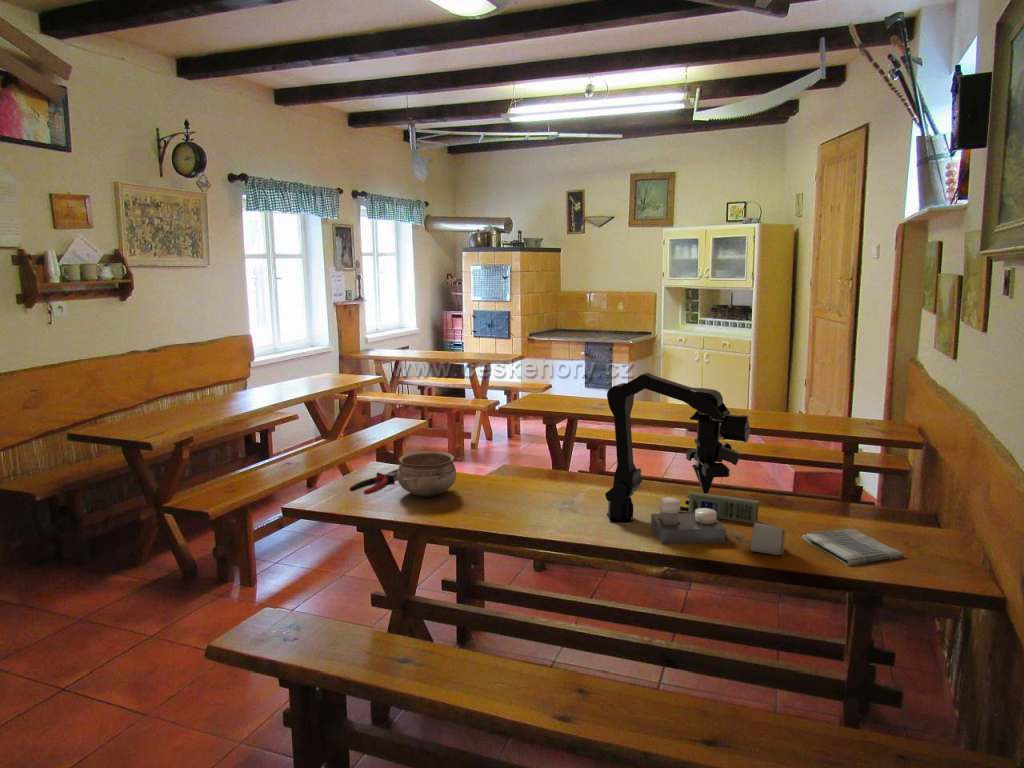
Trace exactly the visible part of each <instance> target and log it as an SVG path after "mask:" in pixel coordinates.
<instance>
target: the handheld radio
mask: <svg viewBox="0 0 1024 768" xmlns="http://www.w3.org/2000/svg"><path fill="white" fill-rule="evenodd" d="M685 494H686V497H685V498H687V499H688V500H685V502H684V503H685V505H688V506H686V507H685V506H681V505H680V512H683V511H684V512H688V513H695V510H696V509H699V508H708V509H712V510H715V511H716V512H717V514H716V519H717V520H718V519H719V520H726V521H727V520H728V521H732V522H733V521H734V522H741V523H747V524H752V525H754V523H758V519H759V503H760V501H759V500H757V499H756V500H755V499H746V498H739V497H731V496H725V495H718V494H716V495H715V494H709V493H707V494H704V493H701V492H694V491H686V492H685Z"/></svg>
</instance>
